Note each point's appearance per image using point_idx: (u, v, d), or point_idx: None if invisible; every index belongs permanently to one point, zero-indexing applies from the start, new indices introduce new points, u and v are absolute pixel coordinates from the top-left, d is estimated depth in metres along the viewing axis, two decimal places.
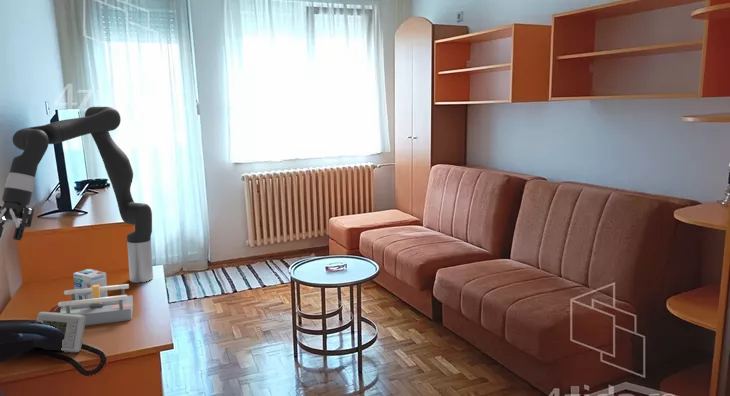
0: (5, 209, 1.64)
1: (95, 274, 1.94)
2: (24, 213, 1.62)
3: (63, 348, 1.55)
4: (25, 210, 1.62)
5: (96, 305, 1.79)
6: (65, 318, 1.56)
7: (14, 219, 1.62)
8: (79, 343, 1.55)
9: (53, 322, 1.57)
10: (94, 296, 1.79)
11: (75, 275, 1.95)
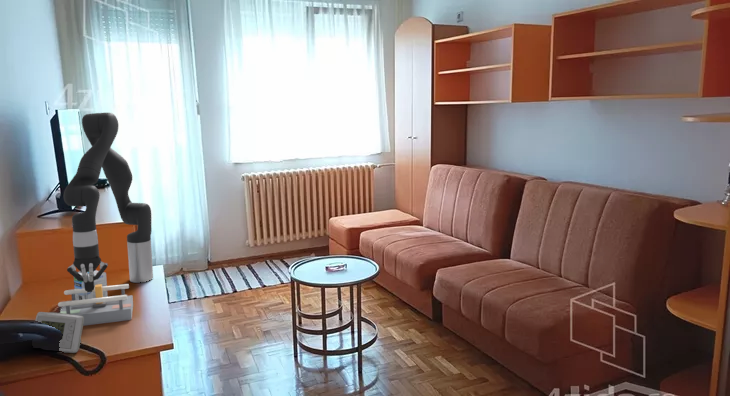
0: (82, 264, 1.76)
1: (95, 274, 1.94)
2: (102, 269, 1.79)
3: (61, 348, 1.54)
4: (104, 267, 1.79)
5: (99, 305, 1.80)
6: (63, 318, 1.56)
7: (90, 274, 1.78)
8: (77, 343, 1.54)
9: (51, 322, 1.57)
10: (97, 296, 1.80)
11: None
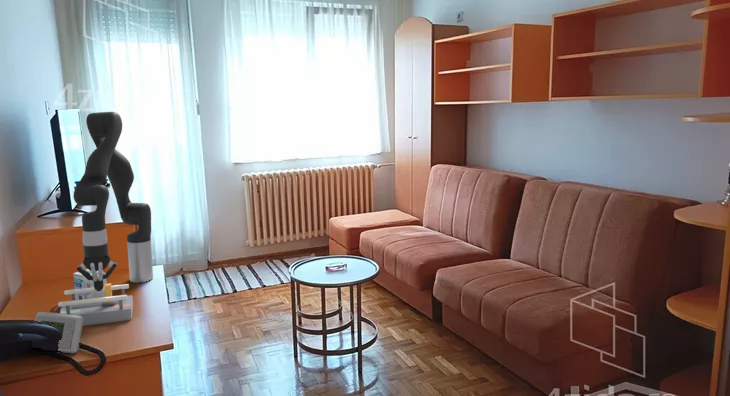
0: (92, 264, 1.77)
1: None
2: (112, 268, 1.80)
3: (60, 349, 1.54)
4: (114, 266, 1.80)
5: (108, 304, 1.81)
6: (63, 318, 1.56)
7: (100, 273, 1.79)
8: (76, 344, 1.54)
9: (51, 323, 1.56)
10: (106, 295, 1.81)
11: (75, 275, 1.95)
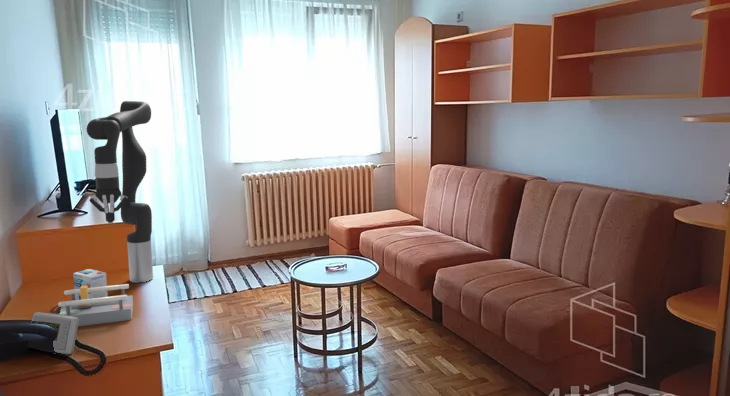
0: (104, 195, 1.86)
1: (95, 274, 1.94)
2: (122, 201, 1.89)
3: (55, 350, 1.54)
4: (125, 199, 1.89)
5: (84, 306, 1.78)
6: (58, 319, 1.55)
7: (111, 205, 1.87)
8: (71, 345, 1.53)
9: (47, 323, 1.56)
10: (82, 297, 1.78)
11: (75, 275, 1.95)
